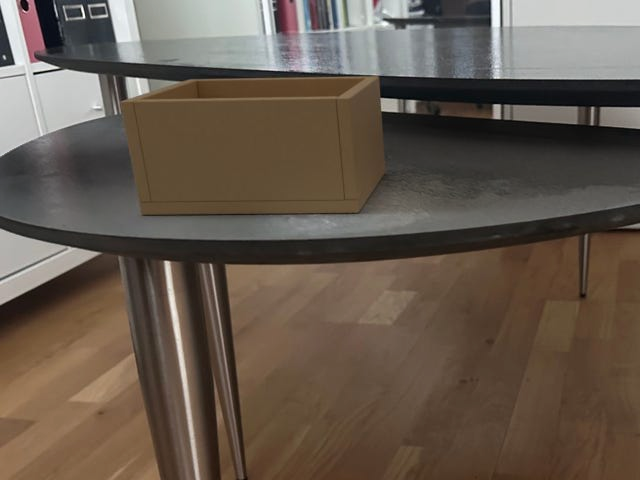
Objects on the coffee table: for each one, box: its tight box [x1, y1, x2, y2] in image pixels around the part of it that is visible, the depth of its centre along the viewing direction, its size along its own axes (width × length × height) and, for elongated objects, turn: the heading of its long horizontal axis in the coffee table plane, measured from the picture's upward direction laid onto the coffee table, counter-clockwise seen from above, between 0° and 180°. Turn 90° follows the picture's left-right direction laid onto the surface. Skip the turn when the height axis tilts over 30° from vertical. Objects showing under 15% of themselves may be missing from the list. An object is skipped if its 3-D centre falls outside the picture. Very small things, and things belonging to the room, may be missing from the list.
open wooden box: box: [119, 75, 386, 216], centre depth 56 cm, size 14×12×7 cm
